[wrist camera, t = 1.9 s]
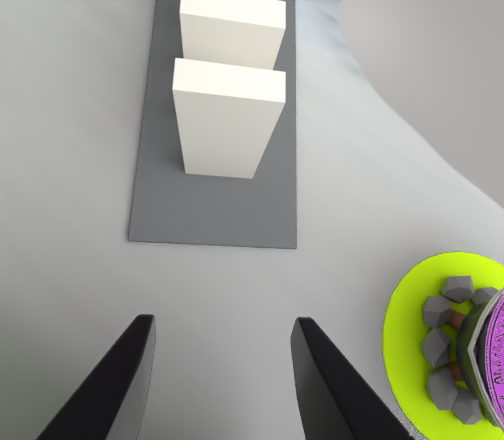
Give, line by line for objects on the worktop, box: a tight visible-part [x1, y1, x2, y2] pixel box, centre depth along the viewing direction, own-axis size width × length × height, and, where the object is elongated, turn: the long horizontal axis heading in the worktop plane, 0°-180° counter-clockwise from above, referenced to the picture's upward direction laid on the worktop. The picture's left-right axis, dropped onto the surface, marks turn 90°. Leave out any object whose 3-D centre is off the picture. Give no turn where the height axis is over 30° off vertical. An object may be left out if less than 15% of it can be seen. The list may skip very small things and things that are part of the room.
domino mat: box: [128, 0, 297, 249], centre depth 25 cm, size 28×12×1 cm, turn 178°
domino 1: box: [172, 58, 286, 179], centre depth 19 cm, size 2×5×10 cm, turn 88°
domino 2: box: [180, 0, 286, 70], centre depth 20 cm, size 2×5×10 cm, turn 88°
